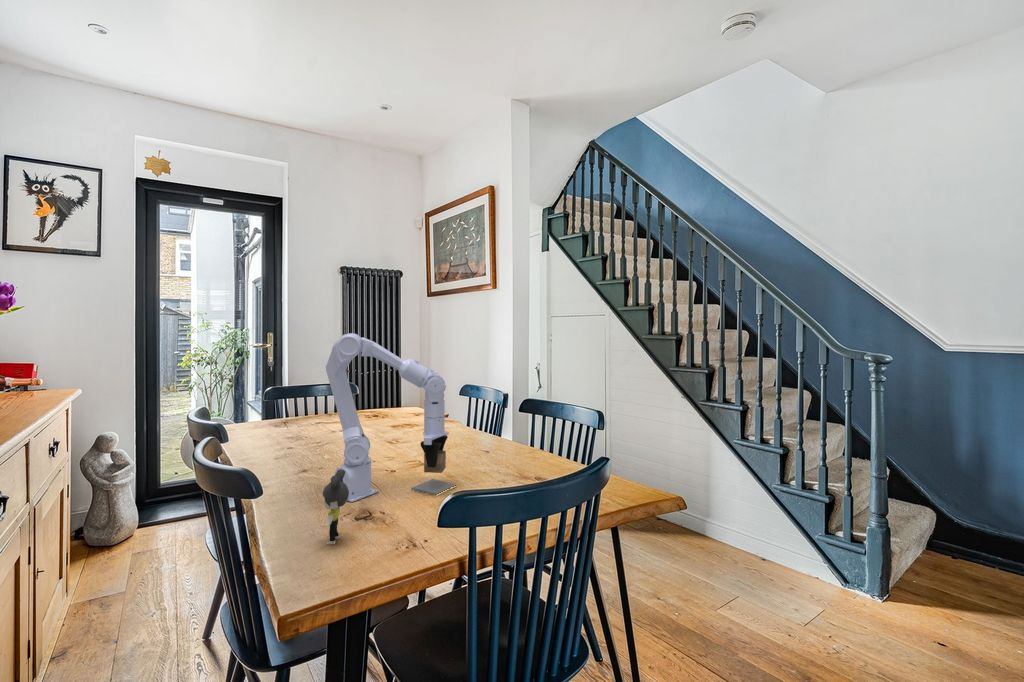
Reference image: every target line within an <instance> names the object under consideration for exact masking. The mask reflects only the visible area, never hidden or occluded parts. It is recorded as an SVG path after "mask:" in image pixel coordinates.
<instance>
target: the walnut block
mask: <svg viewBox="0 0 1024 682" xmlns="http://www.w3.org/2000/svg"><path fill="white" fill-rule="evenodd" d="M446 455H447V450H443V451H442V450H439V451H438V456H437V464H436V467H428V465H427V461H426V457H425V453H424V454H423V473H433V474H435V473H436V474H442V473H443V472H444V471H445V470H446V467H447V463H446V462H447V456H446Z"/></svg>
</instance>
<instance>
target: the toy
mask: <svg viewBox="0 0 1024 682" xmlns="http://www.w3.org/2000/svg"><path fill="white" fill-rule="evenodd" d="M344 475H345V471H344V470H341V469H339V470H338V471H337V473H336V474H335V476H334V475H332V476H331V478H330V482H329V483H328V484H326V485H325V487H324V488H323V490H322V496H323V497H324V500H323V502H322V503H323V504H324V507H325V509H326V510H329V512H328V514H327V516H328V517H327V520H326V522H325V524H324V527H325V528H328V527H329V532H328V534H329V541H327V542H326V545H336V544H335V543H336V540H339V538H340V534H339V532H338V524H339V516H340V515H339V513H340V512H341V507H343V506H345V504H346V503H347V502H348V501H347V499H348V495H349V490H348V488H347V486H346V484H345V483H344V482H343V477H344Z"/></svg>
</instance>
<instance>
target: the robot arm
mask: <svg viewBox="0 0 1024 682" xmlns="http://www.w3.org/2000/svg"><path fill="white" fill-rule="evenodd" d="M360 353H361V355H360V357H373V358H375V359H377V360H379V361H381V362H383V363H384V364H385V365H388V366H390V367H392V368H393V369H395V370H398V374H399V377H400V378H401V379H403V380H405V381H407V382H409V383H411V384H413V385H414V386H416V387H417V388H423V389H424V400H423V441H420V443H419V445H420V447H421V449H422V451H423V453H424V454H425V457H426V461H427V465H428V467H436V464H437V456H438V451H439V450H442V451H444V447H445V444H446V442H447V440H448V435H450V434H449V433H450V432H449V431H446V430H445V425H446V424H445V413H446V412H445V411H446V409H445V399H444V398H445V393H444V392H445V391H446V388H447V384H446V382H445V379H444V378H443V377H442V376H441V375H440V374H439V373H437V372H435V371H434V369H432V368H430V369H429V368H428V367H425V366H424V365H422V364H420V361H419V360H417V359H412V358H409V359H408V358H407V359H402V358H401V357H399V356H398V355H396V354H395V353H392V351H390V350H388V349H386V348H385V347H383V346H381V345H380V344H379V343H377V342H375V341H373V340H370V339H368V338H366V337H361V336H360V335H359V334H357V333H353V332H350V333H346V334H345V333H344V334H342V335H341V336H340V337H339V338H338V339H337V340H336V342H334V343H333V345H332V347H331V352H330V354H329V357H328V359H327V363H326V364H325V365H326V366H325V372H326V375H327V378H328V382H329V385H330V386H329V387H330V390H331V393H332V397H333V400H334V404H335V407H336V411H337V414H338V418H339V421H340V425H341V428H342V433H343V443H344V449H343V456H344V460H343V463H342V465H340V467H337V468H336V469H335V471H334V474H333V476H335V474H336V473H337V471H338V470H339V469H341V470H344V471H345V475H344V477H343V482H344V483H345V484H346V486H347V488H348V490H349V495H348V499H347V501H346V502H349V503H353V502H356V501H359V500H361V499H363V498H367V497H369V496H371V495H374V494H377V493H379V490H378V489H375V488H372V458H371V457H369V454H370V449H371V441H370V439H369V438H368V437H367V436H366V434H365V432H364V429H363V427H362V425H361V423H360V419H359V415H358V411H357V407H356V404H355V401H354V398H353V397H354V396H353V393H352V389H351V386H350V383H349V379H348V374H347V371H346V370H347V368H348V366H349V365H350V363H351V361H352V360H353V359H354V358H355V357H356V356H358V355H359V354H360Z"/></svg>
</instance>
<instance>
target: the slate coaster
mask: <svg viewBox="0 0 1024 682" xmlns="http://www.w3.org/2000/svg"><path fill="white" fill-rule="evenodd" d="M456 485H458V484H457V483H453V482H447V481H444V480H443V481H442V480H439V479H433V478H431V479H429V480H426V481H424V482H421V483H419V484H417V485H415V486H411V491H412V490H414V491H413V492H416V491H419V492H418V493H420V492H423V493H422V494H425V493H428V494H427V495H429V494H433V495H437V494H439V493H441V492H443V491H445V490H447V489H450V488H451V487H454V486H456ZM433 495H432V496H433Z"/></svg>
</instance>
